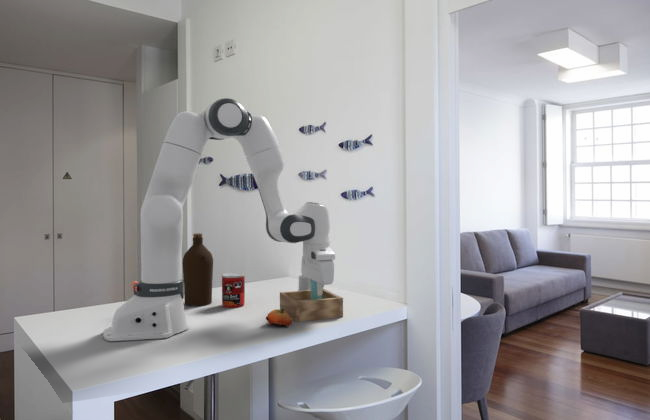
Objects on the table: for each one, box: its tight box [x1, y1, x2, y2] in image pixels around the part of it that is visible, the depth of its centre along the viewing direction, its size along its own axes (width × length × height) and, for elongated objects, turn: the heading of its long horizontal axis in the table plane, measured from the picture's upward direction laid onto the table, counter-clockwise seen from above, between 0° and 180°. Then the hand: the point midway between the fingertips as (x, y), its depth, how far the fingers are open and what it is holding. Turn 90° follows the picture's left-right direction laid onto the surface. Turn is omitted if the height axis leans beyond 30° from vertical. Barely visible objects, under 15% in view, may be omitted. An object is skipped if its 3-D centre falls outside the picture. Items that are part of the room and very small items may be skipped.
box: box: [279, 288, 344, 323], centre depth 153 cm, size 16×16×6 cm
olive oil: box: [182, 232, 214, 307], centre depth 167 cm, size 11×11×25 cm
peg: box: [311, 279, 322, 300], centre depth 154 cm, size 4×4×12 cm
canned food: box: [221, 272, 246, 309], centre depth 164 cm, size 8×8×11 cm
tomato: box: [265, 308, 293, 327], centre depth 140 cm, size 8×7×7 cm
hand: (316, 293), depth 154 cm, fingers closed on peg, 4 cm apart
